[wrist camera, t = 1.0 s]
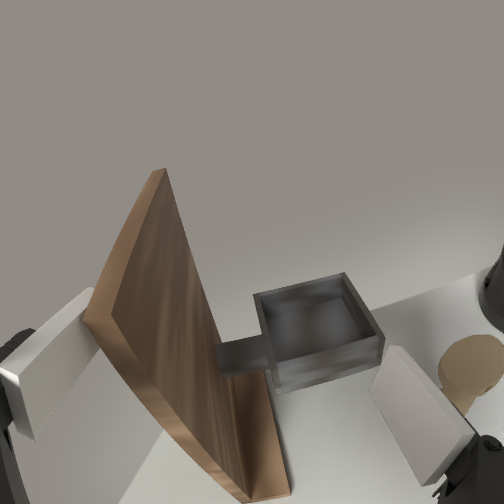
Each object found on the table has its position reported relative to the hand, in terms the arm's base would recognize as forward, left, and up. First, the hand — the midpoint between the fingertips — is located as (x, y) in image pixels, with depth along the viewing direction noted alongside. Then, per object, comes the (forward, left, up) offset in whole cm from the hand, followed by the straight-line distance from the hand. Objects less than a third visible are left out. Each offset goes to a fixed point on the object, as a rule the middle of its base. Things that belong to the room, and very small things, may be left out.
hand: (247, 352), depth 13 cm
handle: (-16, 0, -24) cm, 29 cm away
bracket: (-3, -8, -24) cm, 25 cm away
